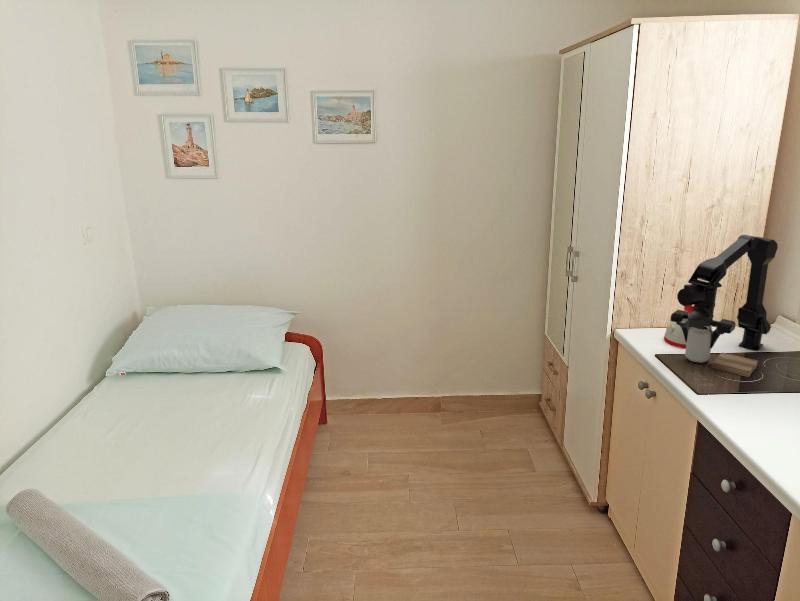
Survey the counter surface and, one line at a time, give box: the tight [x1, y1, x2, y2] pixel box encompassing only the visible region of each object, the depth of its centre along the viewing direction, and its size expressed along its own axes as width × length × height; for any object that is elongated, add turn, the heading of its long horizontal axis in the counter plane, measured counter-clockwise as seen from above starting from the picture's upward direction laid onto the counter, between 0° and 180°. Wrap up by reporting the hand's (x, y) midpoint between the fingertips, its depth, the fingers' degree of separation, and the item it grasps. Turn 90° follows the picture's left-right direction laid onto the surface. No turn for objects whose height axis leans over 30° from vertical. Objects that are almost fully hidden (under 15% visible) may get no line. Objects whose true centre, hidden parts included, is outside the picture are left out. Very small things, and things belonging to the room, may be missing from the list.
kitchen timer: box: [663, 305, 694, 350], centre depth 218 cm, size 14×14×15 cm
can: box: [684, 326, 714, 364], centre depth 202 cm, size 8×8×12 cm
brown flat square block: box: [711, 352, 759, 378], centre depth 199 cm, size 11×11×2 cm
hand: (698, 345), depth 202 cm, fingers closed on can, 7 cm apart
